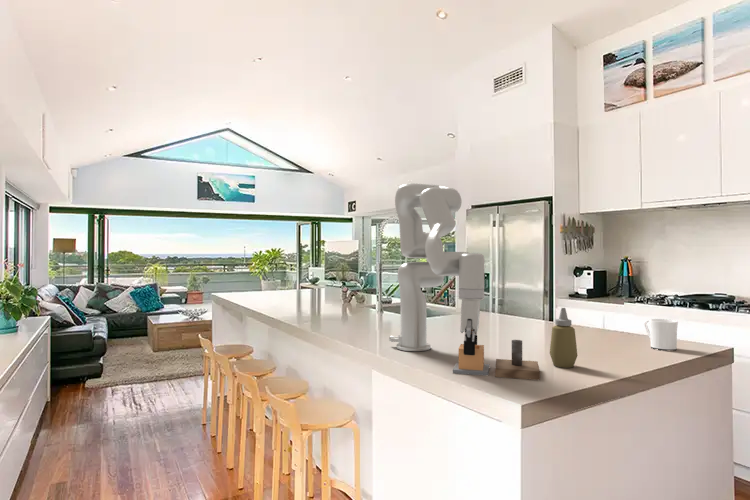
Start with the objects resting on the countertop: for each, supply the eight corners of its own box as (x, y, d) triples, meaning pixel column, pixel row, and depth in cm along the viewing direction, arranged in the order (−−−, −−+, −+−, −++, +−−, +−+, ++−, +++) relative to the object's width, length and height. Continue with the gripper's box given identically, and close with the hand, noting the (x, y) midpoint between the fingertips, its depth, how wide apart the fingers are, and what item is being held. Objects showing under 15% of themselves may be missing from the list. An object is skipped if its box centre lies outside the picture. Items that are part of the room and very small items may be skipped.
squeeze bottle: (544, 366, 148) (544, 308, 149) (556, 361, 154) (556, 305, 154) (570, 370, 143) (570, 310, 143) (581, 366, 148) (581, 308, 148)
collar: (458, 368, 141) (458, 348, 141) (460, 363, 148) (460, 344, 148) (482, 370, 139) (482, 349, 139) (484, 364, 146) (484, 345, 146)
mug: (681, 349, 173) (681, 320, 174) (672, 352, 168) (672, 323, 168) (649, 344, 182) (649, 317, 182) (639, 347, 177) (639, 319, 177)
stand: (495, 377, 136) (495, 343, 136) (496, 367, 147) (496, 336, 147) (539, 380, 132) (539, 345, 132) (537, 369, 144) (537, 338, 144)
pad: (452, 373, 140) (452, 369, 140) (456, 365, 149) (456, 362, 149) (488, 375, 137) (488, 372, 137) (489, 367, 147) (489, 364, 147)
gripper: (461, 291, 153) (460, 344, 153) (455, 297, 136) (454, 356, 136) (485, 291, 151) (484, 346, 151) (482, 298, 134) (481, 358, 134)
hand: (470, 351), depth 144 cm, fingers open, 9 cm apart
